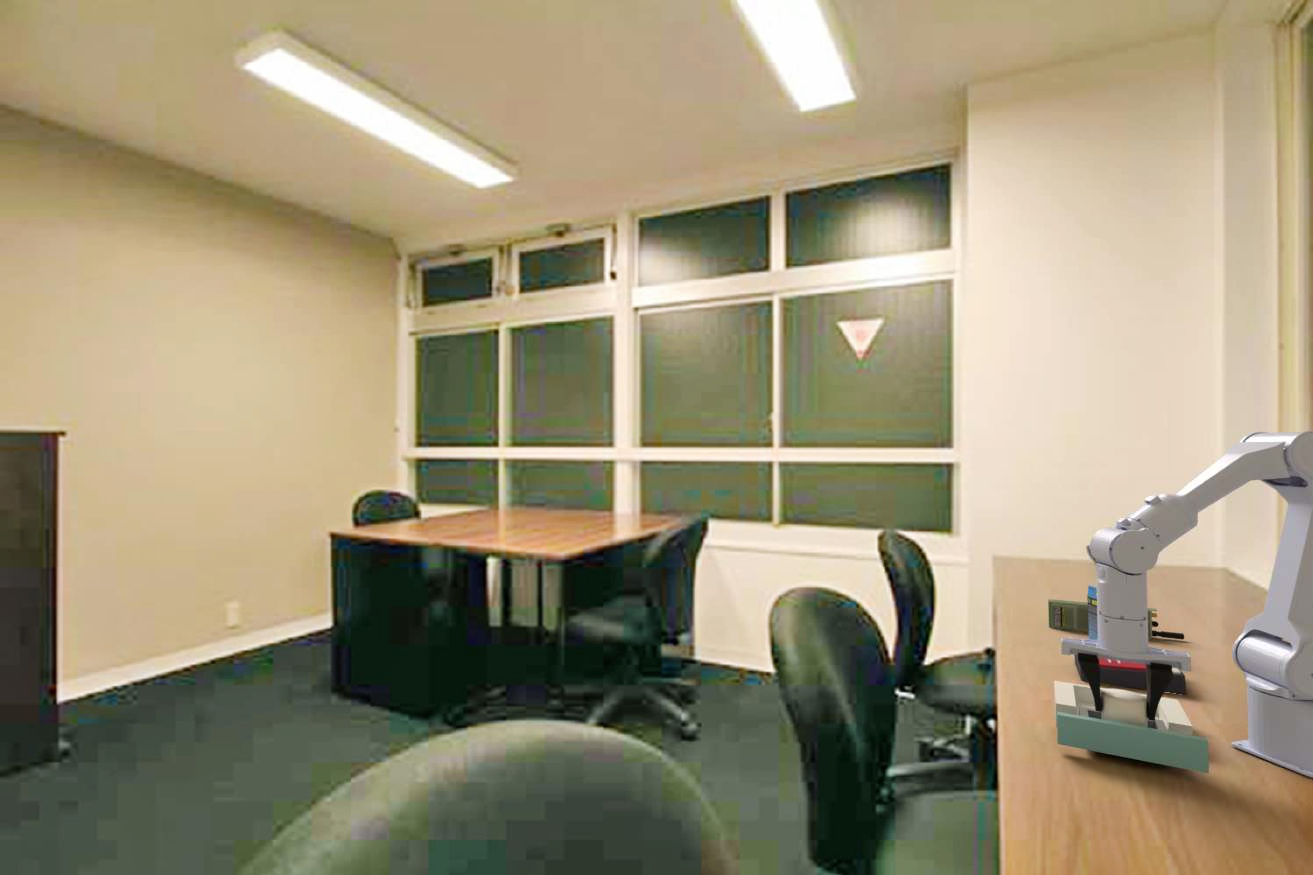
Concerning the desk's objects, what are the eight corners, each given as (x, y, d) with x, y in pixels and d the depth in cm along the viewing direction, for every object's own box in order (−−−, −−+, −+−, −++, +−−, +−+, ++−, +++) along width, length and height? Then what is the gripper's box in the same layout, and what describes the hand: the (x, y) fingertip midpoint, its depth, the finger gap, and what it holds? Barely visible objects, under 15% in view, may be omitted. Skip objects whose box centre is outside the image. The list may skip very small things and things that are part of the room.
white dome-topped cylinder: (1157, 730, 87) (1156, 700, 87) (1127, 734, 86) (1126, 704, 86) (1121, 714, 92) (1120, 687, 92) (1092, 718, 91) (1091, 690, 91)
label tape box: (1135, 653, 130) (1134, 593, 130) (1115, 653, 130) (1114, 593, 130) (1105, 640, 139) (1104, 584, 139) (1086, 640, 139) (1085, 584, 139)
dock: (1054, 701, 105) (1054, 680, 106) (1178, 722, 97) (1177, 699, 97) (1056, 726, 96) (1055, 703, 96) (1193, 751, 88) (1192, 726, 88)
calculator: (1073, 645, 125) (1169, 652, 118) (1075, 667, 125) (1171, 676, 118) (1079, 662, 115) (1185, 671, 108) (1081, 686, 115) (1187, 696, 108)
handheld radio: (1048, 625, 152) (1182, 640, 140) (1049, 629, 149) (1185, 644, 137) (1048, 597, 152) (1181, 609, 140) (1048, 601, 149) (1185, 613, 137)
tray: (1055, 715, 97) (1055, 688, 98) (1190, 739, 89) (1189, 709, 89) (1057, 744, 88) (1057, 714, 88) (1208, 774, 80) (1208, 741, 80)
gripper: (1182, 615, 89) (1185, 713, 88) (1059, 602, 96) (1061, 693, 96) (1193, 627, 83) (1195, 733, 82) (1061, 613, 90) (1062, 710, 90)
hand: (1123, 713), depth 89 cm, fingers open, 5 cm apart
